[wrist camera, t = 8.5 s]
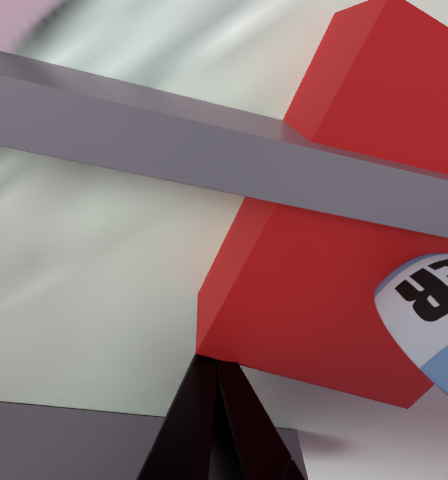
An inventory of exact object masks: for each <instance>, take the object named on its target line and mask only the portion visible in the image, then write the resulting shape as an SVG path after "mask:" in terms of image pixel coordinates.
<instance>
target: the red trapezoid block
mask: <svg viewBox="0 0 448 480" xmlns="http://www.w3.org/2000/svg"><path fill="white" fill-rule="evenodd" d="M283 121H284V122H285V123H287V124H288V125H289V126H291V127H292V128H293V129H294V130H296V131H297V132H298V133H300V134H301V135H302V136H304V137H305V138H306V139H307V140H309V141H310V142H313V143H318V144H322V145H326V146H330V147H334V148H339V149H343V150H347V151H351V152H355V153H360V154H364V155H368V156H372V157H376V158H380V159H385V160H389V161H393V162H397V163H401V164H406V165H410V166H414V167H418V168H422V169H427V170H431V171H435V172H439V173H443V174H448V27H447V26H445V25H444V24H442V23H441V22H439V21H437V20H436V19H434V18H433V17H431V16H429V15H428V14H426V13H425V12H423V11H421V10H420V9H418V8H417V7H415V6H414V5H412V4H410V3H409V2H407V1H406V0H368V1H366V2H363V3H360V4H358V5H355V6H352V7H350V8H347V9H344V10H342V11H339V12H336V13H335V14H334V16H333V18H332V20H331V22H330V24H329V26H328V28H327V30H326V33H325V35H324V37H323V39H322V41H321V43H320V45H319V47H318V49H317V51H316V53H315V55H314V57H313V59H312V61H311V63H310V65H309V67H308V69H307V71H306V74H305V76H304V78H303V80H302V82H301V84H300V86H299V88H298V90H297V92H296V94H295V96H294V98H293V100H292V102H291V104H290V106H289V108H288V110H287V112H286V115H285V117H284V119H283ZM196 354H199V355H203V356H207V357H211V358H215V359H218V360H222V361H230V362H237V363H238V364H239V365H241V366H245V367H249V368H253V369H257V370H261V371H265V372H268V373H272V374H276V375H280V376H284V377H288V378H291V379H295V380H299V381H303V382H307V383H311V384H314V385H318V386H322V387H326V388H330V389H334V390H337V391H341V392H345V393H349V394H353V395H357V396H360V397H364V398H368V399H372V400H376V401H380V402H383V403H387V404H391V405H395V406H399V407H403V408H406V409H408V408H409V407H410V406H412V405H413V404H414V403H415V402H416V401H417V400H418V399H419V398H420V397H421V396H422V395H423V394H424V393H426V392H427V391H428V390H429V389H430V388H431V387H432V386H433V385H434V384H436V385H437V386H438V387H439V388H440V389H441V390H443V391H444V392H445V393H446V394H447V395H448V238H447V237H442V236H437V235H432V234H427V233H422V232H417V231H413V230H408V229H403V228H398V227H393V226H388V225H383V224H378V223H374V222H369V221H364V220H359V219H354V218H349V217H344V216H339V215H335V214H330V213H325V212H320V211H315V210H310V209H305V208H300V207H296V206H291V205H286V204H281V203H276V202H271V201H266V200H261V199H257V198H252V197H247V196H246V197H245V199H244V201H243V203H242V205H241V207H240V209H239V211H238V213H237V215H236V217H235V219H234V221H233V223H232V225H231V227H230V229H229V231H228V233H227V235H226V238H225V240H224V242H223V244H222V246H221V248H220V250H219V252H218V254H217V256H216V258H215V260H214V262H213V264H212V266H211V268H210V270H209V272H208V274H207V276H206V279H205V281H204V283H203V285H202V287H201V289H200V291H199V293H198V306H197V335H196Z"/></svg>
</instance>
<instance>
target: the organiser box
mask: <svg viewBox="0 0 448 480" xmlns="http://www.w3.org/2000/svg"><path fill="white" fill-rule="evenodd" d="M0 146H3V147H8V148H13V149H18V150H22V151H27V152H32V153H37V154H42V155H47V156H52V157H57V158H61V159H66V160H71V161H76V162H81V163H86V164H91V165H96V166H100V167H105V168H110V169H115V170H120V171H125V172H130V173H135V174H139V175H144V176H149V177H154V178H159V179H164V180H169V181H174V182H178V183H183V184H188V185H193V186H198V187H203V188H208V189H213V190H217V191H222V192H227V193H232V194H237V195H242V196H247V197H252V198H257V199H261V200H266V201H271V202H276V203H281V204H286V205H291V206H296V207H300V208H305V209H310V210H315V211H320V212H325V213H330V214H335V215H339V216H344V217H349V218H354V219H359V220H364V221H369V222H374V223H378V224H383V225H388V226H393V227H398V228H403V229H408V230H413V231H417V232H422V233H427V234H432V235H437V236H442V237H447V238H448V174H443V173H439V172H435V171H431V170H427V169H422V168H418V167H414V166H410V165H406V164H401V163H397V162H393V161H389V160H385V159H380V158H376V157H372V156H368V155H364V154H360V153H355V152H351V151H347V150H343V149H339V148H334V147H330V146H326V145H322V144H318V143H313V142H310V141H309V140H307V139H306V138H305V137H304V136H302V135H301V134H300V133H298V132H297V131H296V130H294V129H293V128H292V127H291V126H289V125H288V124H287V123H285V122H284V121H282V120H278V119H274V118H270V117H266V116H262V115H258V114H254V113H250V112H246V111H242V110H237V109H233V108H229V107H225V106H221V105H217V104H213V103H209V102H205V101H201V100H197V99H193V98H189V97H185V96H181V95H177V94H172V93H168V92H164V91H160V90H156V89H152V88H148V87H144V86H140V85H136V84H132V83H128V82H124V81H120V80H116V79H111V78H107V77H103V76H99V75H95V74H91V73H87V72H83V71H79V70H75V69H71V68H67V67H63V66H59V65H55V64H50V63H46V62H42V61H38V60H34V59H30V58H26V57H22V56H18V55H14V54H10V53H6V52H2V51H0ZM164 419H165V418H162V417H152V416H141V415H131V414H120V413H110V412H99V411H88V410H78V409H67V408H57V407H46V406H36V405H25V404H15V403H4V402H0V480H136V478H137V476H138V474H139V472H140V470H141V468H142V466H143V464H144V461H145V459H146V457H147V455H148V453H149V451H151V447H152V445H153V443H154V441H155V438H156V436H157V434H158V432H159V430H160V428H161V426H162V423H163V421H164ZM276 430H277V431H278V433H279V435H280V437H281V438H282V440H283V442H284V444H285V445H286V447H287V449H288V450H289V452H290V454H291V456H292V460H294V461H295V462H296V464H297V466H298V468H299V469H300V471H301V473H302V475H303V476H304V478H305V480H308V477H307V473H306V468H305V464H304V460H303V456H302V452H301V448H300V444H299V440H298V435H297V431H296V430H289V429H278V428H276Z"/></svg>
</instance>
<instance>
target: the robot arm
mask: <svg viewBox="0 0 448 480" xmlns="http://www.w3.org/2000/svg"><path fill="white" fill-rule="evenodd" d="M136 480H305V478H304V476H303V475H302V473H301V471H300V469H299V468H298V466H297V464H296V462H295V461H294V460H292V456H291V454H290V452H289V450H288V449H287V447H286V445H285V444H284V442H283V440H282V438H281V437H280V435H279V433H278V431H277V430H276V428H275V426H274V424H273V423H272V421H271V419H270V417H269V416H268V414H267V412H266V411H265V409H264V407H263V405H262V404H261V402H260V400H259V398H258V397H257V395H256V393H255V391H254V390H253V388H252V386H251V385H250V383H249V381H248V379H247V378H246V376H245V374H244V372H243V371H242V369H241V367H240V365H239V364H238V363H237V362H230V361H222V360H218V359H215V358H211V357H207V356H203V355H199V354H196V353H195V355H194V357H193V359H192V361H191V363H190V366H189V368H188V370H187V372H186V374H185V376H184V378H183V381H182V383H181V385H180V387H179V389H178V391H177V393H176V396H175V398H174V400H173V402H172V404H171V406H170V408H169V411H168V413H167V415H166V417H165V419H164V421H163V423H162V426H161V428H160V430H159V432H158V434H157V436H156V438H155V441H154V443H153V445H152V447H151V451H149V453H148V455H147V457H146V459H145V461H144V464H143V466H142V468H141V470H140V472H139V474H138V476H137V478H136Z"/></svg>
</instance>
